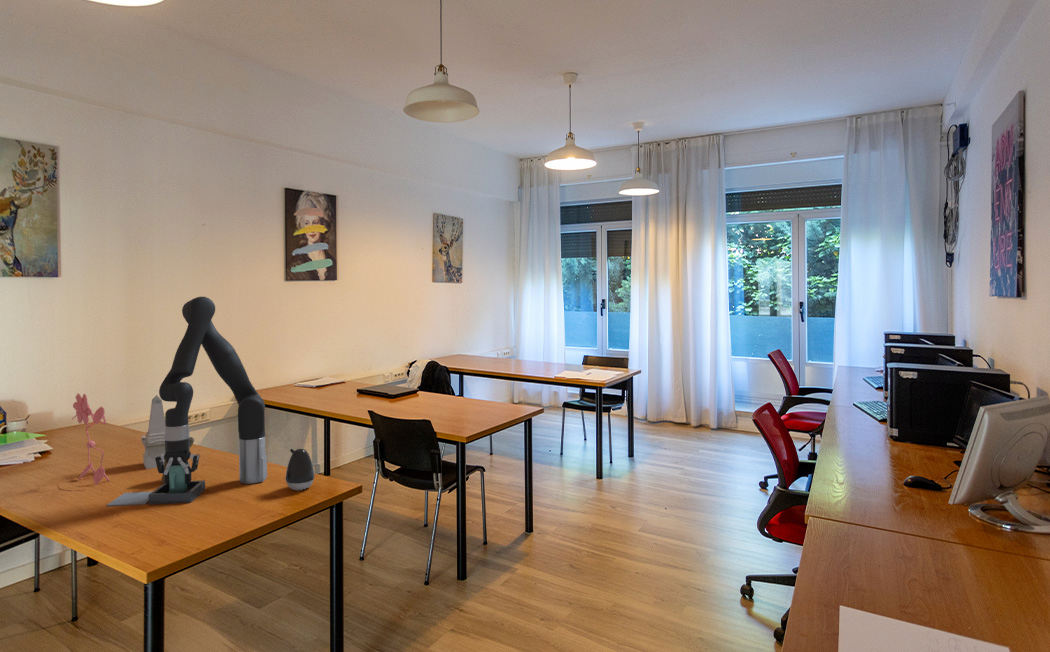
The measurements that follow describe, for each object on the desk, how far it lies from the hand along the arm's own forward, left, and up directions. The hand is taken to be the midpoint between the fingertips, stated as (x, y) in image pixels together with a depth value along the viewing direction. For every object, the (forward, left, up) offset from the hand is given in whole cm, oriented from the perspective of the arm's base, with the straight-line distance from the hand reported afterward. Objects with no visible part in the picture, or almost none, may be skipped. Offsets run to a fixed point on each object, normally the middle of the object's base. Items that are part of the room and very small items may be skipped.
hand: (178, 483), depth 201 cm
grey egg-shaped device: (-41, -3, -5) cm, 41 cm away
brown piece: (+7, -19, -5) cm, 21 cm away
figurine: (+41, -21, -5) cm, 47 cm away
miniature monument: (+25, -44, -5) cm, 50 cm away
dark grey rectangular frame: (0, 0, -5) cm, 5 cm away
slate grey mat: (+14, 0, -5) cm, 15 cm away
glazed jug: (0, 0, -3) cm, 3 cm away
